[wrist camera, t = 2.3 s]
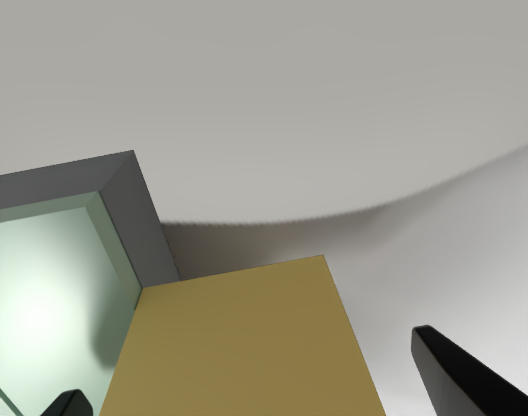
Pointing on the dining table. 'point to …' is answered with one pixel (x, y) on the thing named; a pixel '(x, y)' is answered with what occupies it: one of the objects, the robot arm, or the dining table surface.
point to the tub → (115, 201)
